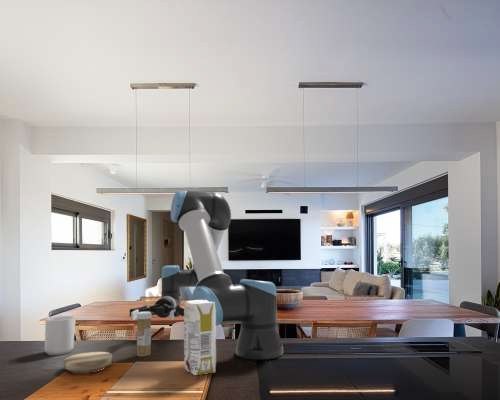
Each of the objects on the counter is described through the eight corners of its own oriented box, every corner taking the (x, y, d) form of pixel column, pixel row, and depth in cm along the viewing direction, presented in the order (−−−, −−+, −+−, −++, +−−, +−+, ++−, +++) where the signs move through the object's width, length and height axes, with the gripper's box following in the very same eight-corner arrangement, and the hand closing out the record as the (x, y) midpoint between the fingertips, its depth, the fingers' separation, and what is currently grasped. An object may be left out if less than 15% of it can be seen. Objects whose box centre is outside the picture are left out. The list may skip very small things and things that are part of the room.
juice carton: (193, 378, 107) (193, 304, 109) (181, 369, 114) (181, 300, 116) (219, 373, 111) (218, 301, 113) (206, 365, 118) (206, 298, 120)
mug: (62, 356, 131) (63, 320, 133) (38, 355, 133) (39, 320, 134) (84, 347, 143) (85, 314, 144) (62, 346, 145) (63, 314, 146)
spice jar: (133, 355, 131) (134, 312, 132) (145, 352, 134) (145, 310, 136) (142, 357, 128) (142, 313, 129) (154, 354, 131) (154, 311, 133)
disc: (117, 369, 116) (118, 358, 116) (68, 378, 108) (69, 366, 109) (105, 359, 126) (105, 349, 127) (59, 367, 119) (59, 356, 119)
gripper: (196, 316, 163) (187, 327, 141) (134, 316, 163) (115, 327, 142) (196, 296, 163) (187, 305, 142) (134, 297, 164) (116, 305, 143)
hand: (151, 316), depth 142 cm, fingers open, 13 cm apart
